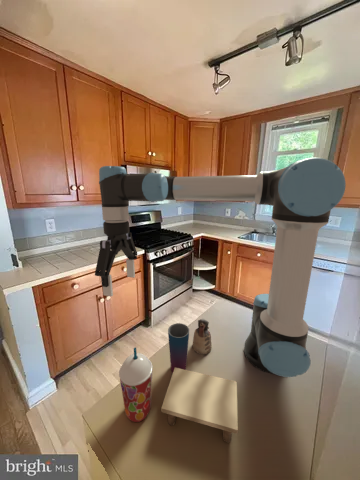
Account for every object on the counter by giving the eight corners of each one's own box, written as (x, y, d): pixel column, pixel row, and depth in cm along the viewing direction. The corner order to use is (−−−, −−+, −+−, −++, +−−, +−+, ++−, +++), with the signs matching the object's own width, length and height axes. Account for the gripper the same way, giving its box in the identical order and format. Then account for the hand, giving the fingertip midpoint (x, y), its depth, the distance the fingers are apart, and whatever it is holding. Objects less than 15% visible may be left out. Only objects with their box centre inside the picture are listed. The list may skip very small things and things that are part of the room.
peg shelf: (235, 398, 57) (236, 381, 55) (235, 450, 45) (237, 430, 44) (174, 383, 61) (174, 367, 60) (161, 427, 50) (161, 408, 48)
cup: (164, 372, 65) (163, 333, 61) (174, 357, 71) (174, 320, 67) (182, 381, 62) (183, 340, 58) (191, 365, 68) (192, 327, 64)
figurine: (213, 344, 77) (215, 317, 74) (208, 357, 71) (209, 328, 68) (196, 338, 80) (197, 312, 77) (189, 350, 74) (190, 322, 71)
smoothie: (155, 395, 58) (153, 336, 53) (151, 428, 49) (149, 362, 45) (127, 395, 58) (122, 336, 53) (118, 428, 49) (112, 362, 45)
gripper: (126, 215, 72) (129, 270, 77) (74, 226, 49) (83, 303, 54) (145, 216, 71) (147, 272, 75) (100, 228, 47) (107, 307, 52)
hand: (120, 285), depth 65 cm, fingers open, 13 cm apart
